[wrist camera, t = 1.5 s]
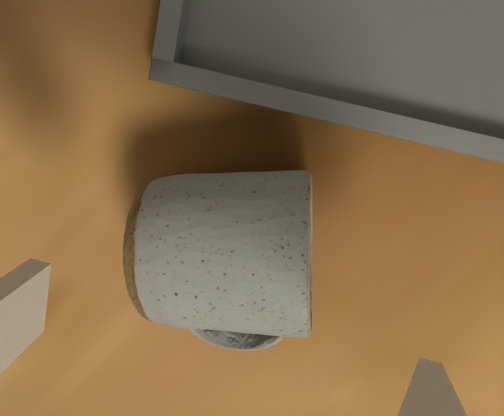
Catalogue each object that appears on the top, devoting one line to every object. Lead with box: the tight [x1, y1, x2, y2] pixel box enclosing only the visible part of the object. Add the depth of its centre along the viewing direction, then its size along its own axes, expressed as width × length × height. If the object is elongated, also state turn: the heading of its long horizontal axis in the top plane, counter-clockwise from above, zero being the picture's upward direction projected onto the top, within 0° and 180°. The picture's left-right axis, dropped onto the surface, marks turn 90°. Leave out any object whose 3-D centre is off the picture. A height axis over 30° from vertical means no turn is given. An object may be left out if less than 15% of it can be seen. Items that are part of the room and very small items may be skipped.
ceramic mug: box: [123, 170, 313, 351], centre depth 23 cm, size 11×8×8 cm
